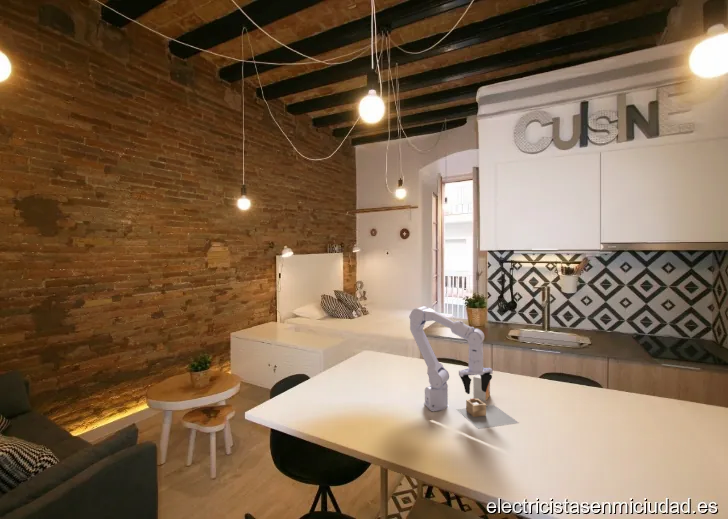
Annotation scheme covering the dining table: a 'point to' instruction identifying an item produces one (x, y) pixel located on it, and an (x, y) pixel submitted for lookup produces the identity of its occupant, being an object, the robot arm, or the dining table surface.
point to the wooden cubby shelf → (476, 407)
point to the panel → (489, 417)
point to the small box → (480, 389)
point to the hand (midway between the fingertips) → (475, 392)
